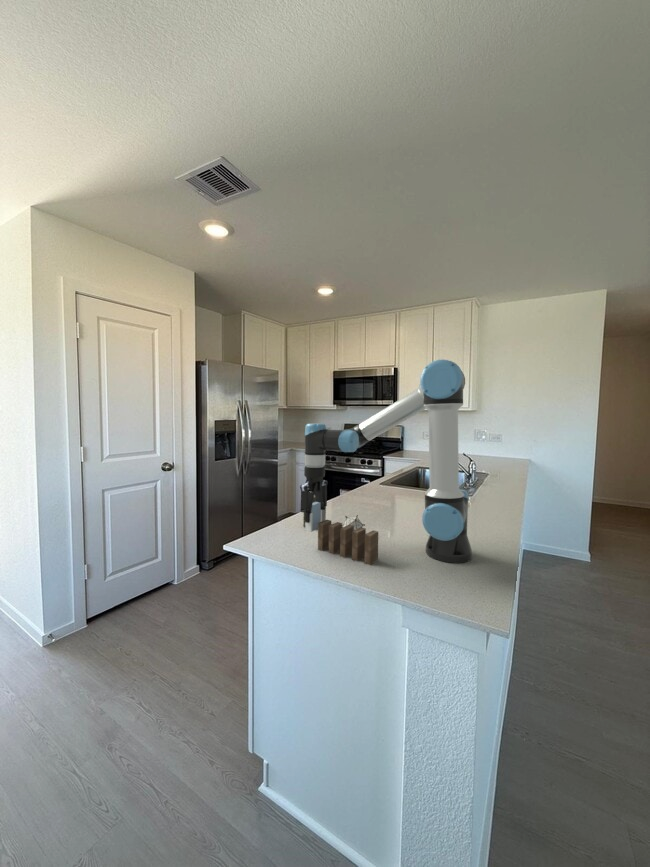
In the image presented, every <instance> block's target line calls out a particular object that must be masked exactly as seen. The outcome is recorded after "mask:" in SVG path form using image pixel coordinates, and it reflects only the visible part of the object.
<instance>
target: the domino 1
mask: <svg viewBox="0 0 650 867" xmlns="http://www.w3.org/2000/svg"><path fill="white" fill-rule="evenodd" d="M320 510H321V503H320V502H314V503H313V504H312V509H311V513H313V514H312V532H314V531H318V523H319V522H320Z"/></svg>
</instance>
